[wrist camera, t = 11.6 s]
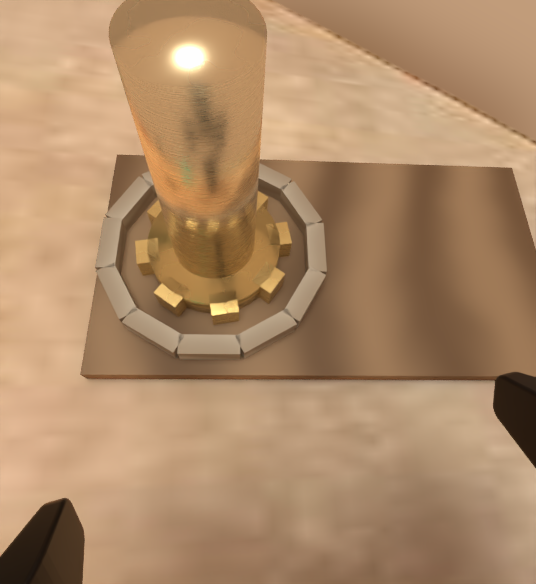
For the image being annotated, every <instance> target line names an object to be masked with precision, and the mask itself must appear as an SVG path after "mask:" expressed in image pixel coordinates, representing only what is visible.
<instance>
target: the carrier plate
mask: <svg viewBox="0 0 536 584" xmlns="http://www.w3.org/2000/svg"><path fill="white" fill-rule="evenodd" d="M258 191H259V192H261V193H262V194H264V195H266V196H267V197H268V207H267V211H268V212H269V213H270V215H271V216H272V218H273V220H274V222H275V223H281V222H287V224H288V228H289V233H290V237H291V241H292V245H291V250H290V254H289V256H285V257H279V258H278V264H277V269H279V270H280V271H282V272H283V273H285V277H284V282H283V285H282V287H281V288H280V289H279V291H278V292H277V293H276V295H275V296H274V297H273V299H272V300H271V301H270V303H269V304H268V303H267V302H265V301H264V300H262V299H261V298H259V297H258V298H257V299H256V300H255V301H253V302H252V303H250V304H249V305H247V306H245V307H243V308H240V309H239V321H236V322H230V323H223V324H217V325H213V320H212V315H211V313H203V312H198V311H194V310H191V309H189V308H186V309H185V311H184V312H183V313H182V314H181V315H180V317H178V316H176V315H175V314H174V313H172V312H171V311H169V310H168V309H166V308H165V307H164V306H162V305H161V304H159V302H158V300H157V298H156V296H155V294H154V291H155V290H156V289H157V288H158V287H159V286H160V284H159V282H158V280H157V278H156V276H155V274H153V275H146V276H143V275H142V273H141V271H140V269H139V267H138V265H137V261H136V247H135V241H139V240H146V239H148V235H149V232H150V228H151V226H152V225H151V222H150V220H149V217H148V214H147V211H148V210H149V209H150V208H151V207H152V206H153V205H154V204H155V203H156V202H157V201H158V197H157V193H156V190H155V187H154V184H153V180H152V177H151V174H150V171H149V167H148V164H147V161H146V158H145V156H140V155H117V158H116V164H115V170H114V176H113V182H112V188H111V194H110V200H109V206H108V212H107V213H106V214H105V215H106V216H107V218H106V217H104V219H103V225H102V231H101V237H100V243H99V249H98V254H97V260H96V266H95V268H96V269H97V271H96V272H97V278H96V284H95V290H94V296H93V302H92V308H91V314H90V320H89V326H88V332H87V338H86V344H85V350H84V356H83V362H82V368H81V374H80V375H82V376H84V377H85V378H94V379H379V380H496V378H497V377H498V376H499V375H503V374H506V373H510V372H520V373H524V374H527V375H531V376H534V377H536V249H535V246H534V242H533V239H532V236H531V232H530V229H529V225H528V222H527V218H526V215H525V212H524V208H523V205H522V201H521V198H520V194H519V191H518V188H517V184H516V181H515V177H514V174H513V170H512V168H498V167H468V166H439V165H409V164H379V163H349V162H319V161H289V160H260V162H259V179H258Z"/></svg>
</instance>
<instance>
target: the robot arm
mask: <svg viewBox="0 0 536 584" xmlns="http://www.w3.org/2000/svg"><path fill="white" fill-rule="evenodd" d="M493 409H494V412H495V414H496V416H497V418H498V419H499V420H500V422H501V423H502V424H503V426H504V427H505V428H506V430H507V431H508V432H509V434H510V435H511V436H512V438H513V439H514V440H515V442H516V443H517V444H518V446H519V447H520V448H521V450H522V451H523V452H524V453H525V455H526V456H527V457H528V459H529V460H530V461H531V463H532V464H533V465H534V467H535V468H536V377H534V376H531V375H527V374H524V373H520V372H510V373H506V374H503V375H499V376H498V377H497V378H496V380H495V389H494V400H493ZM84 541H85V538H84V530H83V527H82V524H81V522H80V520H79V518H78V516H77V514H76V511H75V509H74V507H73V505H72V503H71V501H70V500H69V499H67V498H62V499H59V500H55V501H52V502H48V503H46V504H44V505H43V506H42V507H41V508H40V509H39V510H38V511H37V512H36V514H35V515H34V516H33V517H32V519H31V520H30V521H29V522H28V523H27V525H26V526H25V527H24V528H23V530H22V531H21V532H20V533H19V534H18V536H17V537H16V538H15V539H14V541H13V542H12V543H11V544H10V545H9V547H8V548H7V549H6V550H5V551H4V553H3V554H2V555H1V556H0V584H82V581H83V561H84Z"/></svg>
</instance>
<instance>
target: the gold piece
mask: <svg viewBox="0 0 536 584" xmlns="http://www.w3.org/2000/svg"><path fill="white" fill-rule="evenodd" d="M109 40H110V44H111V48H112V51H113V54H114V57H115V61H116V64H117V67H118V70H119V73H120V77H121V80H122V83H123V86H124V90H125V93H126V96H127V99H128V103H129V106H130V109H131V112H132V116H133V119H134V122H135V125H136V129H137V132H138V135H139V138H140V141H141V145H142V148H143V151H144V154H145V158H146V161H147V164H148V167H149V171H150V174H151V177H152V180H153V184H154V187H155V190H156V193H157V197H158V201H157V202H156V203H155V204H154V205H153V206H152V207H151V208H150V209H149V210H148V211H147V214H148V217H149V220H150V222H151V225H152V226H151V228H150V232H149V235H148V239H146V240H139V241H135V247H136V261H137V265H138V267H139V269H140V271H141V273H142V275H143V276H146V275H153V274H155V276H156V278H157V280H158V282H159V284H160V286H159V287H158V288H157V289H156V290H155V291H154V294H155V296H156V298H157V300H158V302H159V304H161V305H162V306H164V307H165V308H166V309H168V310H169V311H171V312H172V313H174V314H175V315H176V316H178V317H180V315H181V314H182V313H183V312H184V311H185V309H186V308H189V309H191V310H194V311H198V312H203V313H211V315H212V320H213V325H217V324H223V323H230V322H236V321H239V309H240V308H243V307H245V306H247V305H249V304H250V303H252V302H253V301H255V300H256V299H257V298H258V297H259V298H261V299H262V300H264V301H265V302H267V303H268V304H269V303H270V301H271V300H272V299H273V297H274V296H275V295H276V293H277V292H278V291H279V289H280V288H281V287H282V285H283V282H284V277H285V273H283V272H282V271H280V270H279V269H277V264H278V258H279V257H285V256H289V254H290V250H291V245H292V241H291V237H290V233H289V228H288V224H287V222H281V223H275V222H274V220H273V218H272V216H271V215H270V213H269V212H268V211H267V207H268V197H267V196H266V195H264V194H262V193H261V192H259V191H258V179H259V162H260V145H261V128H262V111H263V94H264V77H265V60H266V43H267V29H266V24H265V21H264V18H263V17H262V15H261V13H260V11H259V10H258V9H257V8H256V6H255V5H254V4H253V3H252V2H250V1H249V0H126V1H124V2H123V3H122V4H121V5H120V6H119V8H118V9H117V10H116V12H115V13H114V15H113V17H112V19H111V22H110V26H109Z"/></svg>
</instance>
